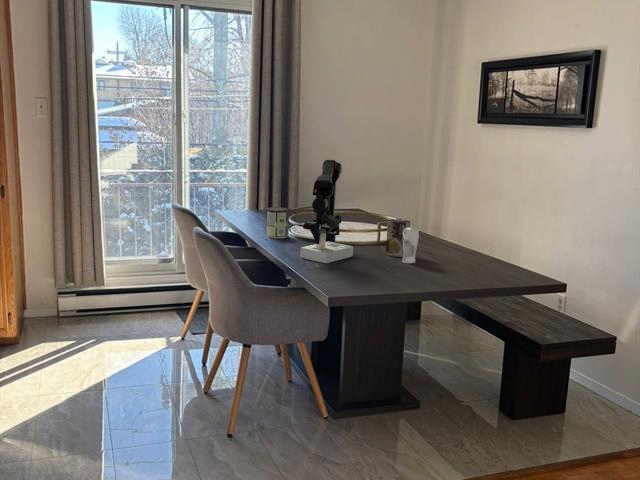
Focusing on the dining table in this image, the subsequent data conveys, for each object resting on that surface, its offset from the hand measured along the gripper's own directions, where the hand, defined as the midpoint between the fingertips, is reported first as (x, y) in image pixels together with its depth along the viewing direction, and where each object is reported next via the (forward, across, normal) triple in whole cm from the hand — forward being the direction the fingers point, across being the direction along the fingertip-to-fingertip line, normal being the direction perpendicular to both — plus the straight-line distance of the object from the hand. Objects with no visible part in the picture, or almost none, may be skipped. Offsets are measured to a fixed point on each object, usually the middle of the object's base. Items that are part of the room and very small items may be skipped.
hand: (320, 243), depth 286 cm
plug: (+4, 0, 0) cm, 4 cm away
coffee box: (+7, +33, -19) cm, 39 cm away
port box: (+7, +5, 0) cm, 8 cm away
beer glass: (+7, +25, -30) cm, 40 cm away
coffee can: (+7, +21, +44) cm, 49 cm away
